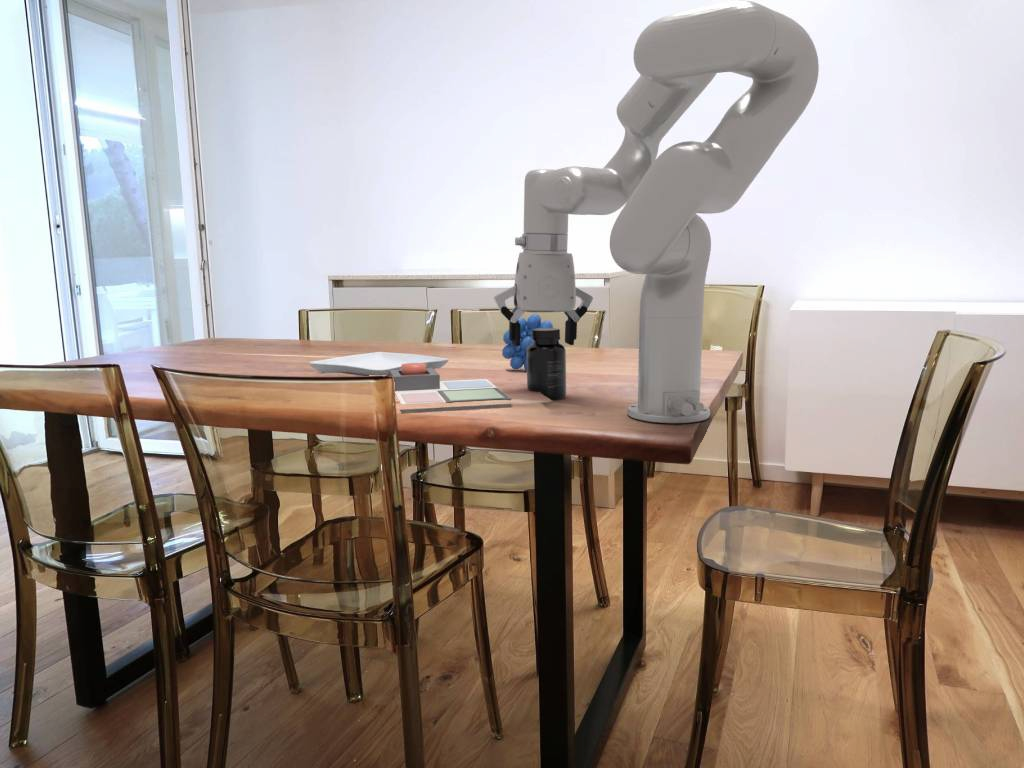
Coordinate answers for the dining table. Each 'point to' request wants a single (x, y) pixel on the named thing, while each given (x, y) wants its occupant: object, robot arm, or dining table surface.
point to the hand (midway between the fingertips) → (542, 344)
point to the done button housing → (416, 380)
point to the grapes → (522, 341)
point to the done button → (413, 368)
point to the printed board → (454, 395)
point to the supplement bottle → (546, 364)
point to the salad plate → (374, 363)
